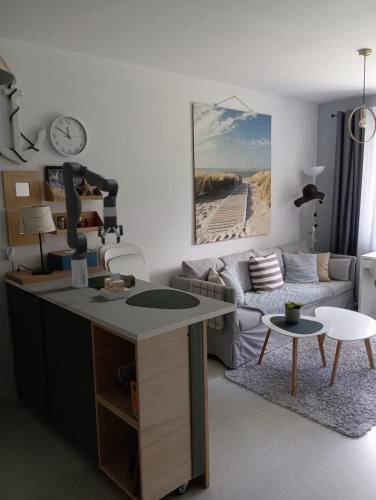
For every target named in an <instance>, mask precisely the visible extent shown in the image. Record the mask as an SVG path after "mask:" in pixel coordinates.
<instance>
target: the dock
mask: <svg viewBox="0 0 376 500" xmlns="http://www.w3.org/2000/svg"><path fill="white" fill-rule="evenodd" d="M124 288H125V290H123V291H117V292H114V291H112V290H109V289H107V288H104V287H102V288H101V287H100V296H101V297H103V298H105V299H106V300H109V301H114V300H119V299H126V298H131V289H130V288H129V287H124Z"/></svg>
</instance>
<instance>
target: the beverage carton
mask: <svg viewBox="0 0 376 500" xmlns="http://www.w3.org/2000/svg"><path fill="white" fill-rule="evenodd" d="M105 278H110V275H109V276H103V277H102V285H103V288H105V282H104V279H105ZM120 280H122V281H124V287H125V288H131V287H136V277H135V275H133V274H126V275H120Z"/></svg>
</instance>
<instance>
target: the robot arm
mask: <svg viewBox="0 0 376 500" xmlns="http://www.w3.org/2000/svg"><path fill="white" fill-rule="evenodd" d="M61 175H62V176H61V177H62V182H63V187H64V198H65V200H64V201H65V210H66V244H67V246H68V248H70V249H72V250H74V252H72V253H71V254H70V262H71V263H70V265H71V280H72V288H76V289H83V288H87V287H88V286H89V278H88V264H87V263H88V261H87V260H88V259H87V256H88V238H87V235H86V234H85V233H84V232H78V223H79V220H80V218H81V215H82V213H83V206H82V205H83V202H82V199H81V196H80V194H79V193H78V191H77V190H76V188H75V186H74V180H73V179H83V180H85V182H87V183H88V184H89V185H91V186H94V187H95V188H96V189H97V188H98V190H100V191H101V192H103V193H108V194H107V195H106V196H104V197H103V198H102V202H103V209H102V218H103V219H102V221H103V226H102V225H98V227H97V237H98V238H100V239H101V241H100V242H101V244H102V246H103V245H104V246H105V245H106V238H105V237H106V236H107V235H108V234H114V235H116V244H120V243H121V237H122V236H124V229H123V227H124V226H123V224H119V225H118V212H117V198H118V193H119V192H118V191H119V183H118V181H117V180H116V179H114V178H112V179H111V178H110V179H109V178H105V176H104V175H101V174H99V173H97V172H95V171H92V170H89V169H88V168H87V167H85V166H84V165H83V164H81V163H80V162H76V161H75V162H74V161H65V162H63V164H62V165H61ZM117 229H118V230H119V231H118V230H117ZM102 231H103V232H102Z"/></svg>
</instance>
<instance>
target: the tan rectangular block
mask: <svg viewBox="0 0 376 500" xmlns="http://www.w3.org/2000/svg"><path fill="white" fill-rule="evenodd" d="M104 282H105V288H107V289H109V290H112V291H114V292H117V291H123V290H125V288H126V287H125V288H124V281H122V280H119V281H111V280H110V278H105V279H104Z"/></svg>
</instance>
